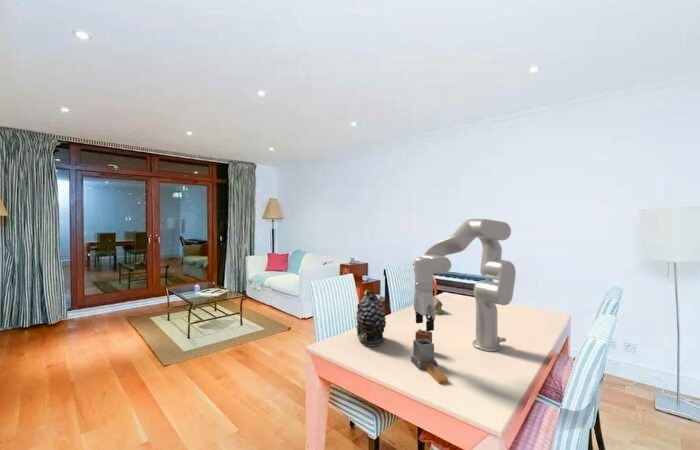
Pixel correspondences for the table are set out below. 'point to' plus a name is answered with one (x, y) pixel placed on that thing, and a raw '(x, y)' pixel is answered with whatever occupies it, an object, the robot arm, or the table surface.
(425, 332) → the battery
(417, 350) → the hollow square tube
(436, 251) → the robot arm
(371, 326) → the dark pine cone
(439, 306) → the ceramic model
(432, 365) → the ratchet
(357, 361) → the table surface
